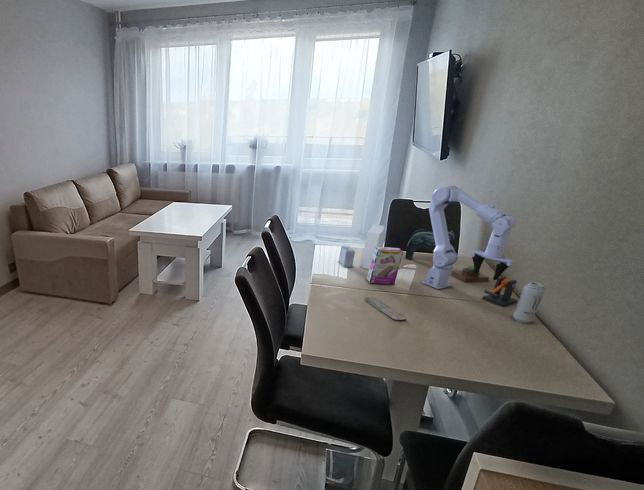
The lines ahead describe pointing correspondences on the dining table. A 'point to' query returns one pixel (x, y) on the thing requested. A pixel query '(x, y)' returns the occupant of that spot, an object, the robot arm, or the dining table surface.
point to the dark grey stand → (504, 298)
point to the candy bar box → (384, 265)
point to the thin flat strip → (384, 308)
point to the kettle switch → (498, 288)
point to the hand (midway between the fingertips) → (485, 276)
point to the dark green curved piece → (423, 242)
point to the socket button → (470, 268)
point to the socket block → (470, 276)
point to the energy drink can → (529, 302)
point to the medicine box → (346, 256)
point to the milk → (372, 243)
